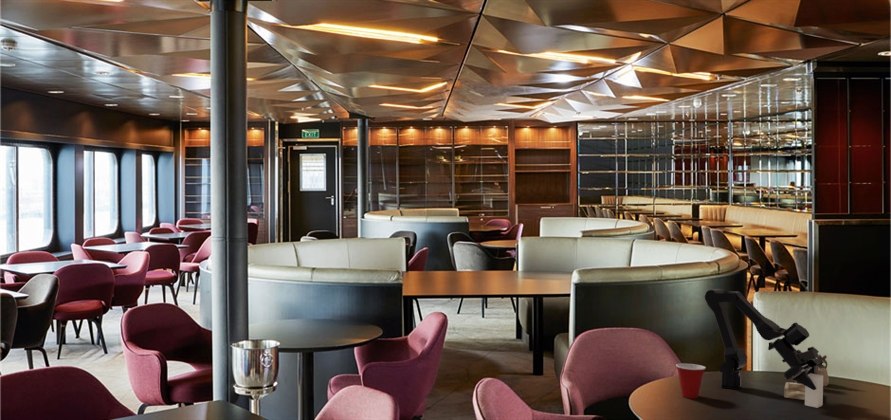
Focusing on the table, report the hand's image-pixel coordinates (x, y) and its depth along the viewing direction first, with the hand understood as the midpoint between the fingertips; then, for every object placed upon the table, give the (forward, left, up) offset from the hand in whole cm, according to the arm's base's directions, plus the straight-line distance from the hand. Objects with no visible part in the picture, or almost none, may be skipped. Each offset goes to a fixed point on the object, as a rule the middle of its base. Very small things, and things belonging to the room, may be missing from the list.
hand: (818, 388), depth 278 cm
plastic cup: (-43, -10, -7) cm, 45 cm away
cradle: (-6, +18, -7) cm, 20 cm away
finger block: (-1, 0, -7) cm, 7 cm away
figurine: (0, +33, -7) cm, 34 cm away
